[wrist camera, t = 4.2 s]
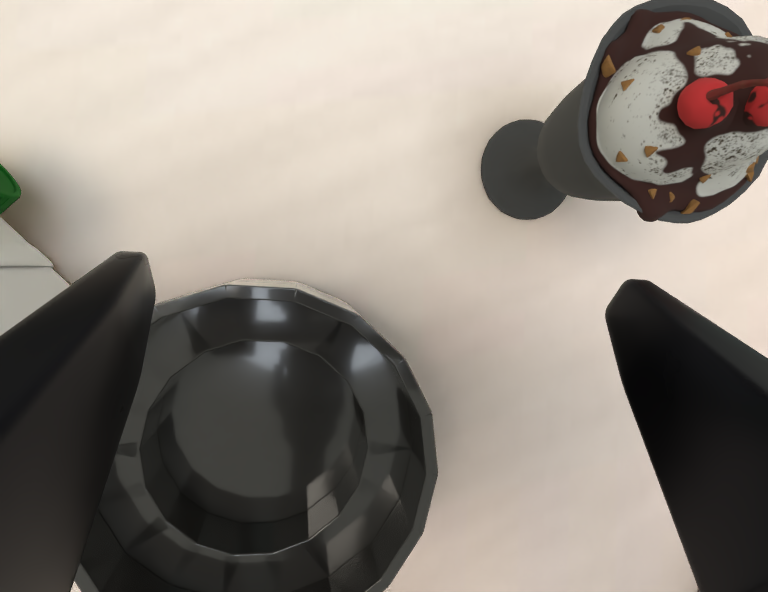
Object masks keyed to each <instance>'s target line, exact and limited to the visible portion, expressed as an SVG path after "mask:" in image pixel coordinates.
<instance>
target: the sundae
mask: <svg viewBox="0 0 768 592" xmlns="http://www.w3.org/2000/svg"><path fill="white" fill-rule="evenodd" d="M767 160H768V38H765V37H761V36H753V35H752V34H751V32H750V30H749V29H748V27H747V26H746V24H745V22H744V21H743V19H742V18H741V17H739V16H738V15H737V14H735V13H734V12H733V11H732V10H730V9H729V8H728V7H726V6H724V5H722V4H720V3H718V2H716V1H714V0H650V1H648V2H645V3H642V4H640V5H637V6H635V7H633V8H631V9H630V10H628V11H626V12H625V13H623V14H622V15H621V16H620V17H619V18H618V19H617V21H616V22H615V23H614V24H613V25H612V26H611V28H610V29H609V30H608V32H607V33H606V34H605V36H604V37H603V38H602V40H601V42H600V44H599V47H598V49H597V51H596V53H595V55H594V58H593V60H592V62H591V65H590V68H589V71H588V73H587V76H586V79H584V80H583V81H582V82H581V83H580V84H579V85H578V86H577V87H576V88H574V89H573V90H572V91H571V92H570V93H569V94H568V95H567V96H566V97H565V98H564V99H563V100H562V101H561V102H560V104H559V105H558V106H557V107H556V108H555V110H554V111H553V112H552V113H551V115H550V116H549V117H548V118H547V120H546V121H545V123H542V122H540V121H536V120H518V121H515V122H512V123H509V124H507V125H505V126H503V127H502V128H501V129H500V130H498V131H497V132H496V133H495V134H494V135H493V137H492V138H491V139H490V140H489V142H488V144H487V146H486V148H485V151H484V154H483V157H482V164H481V176H482V181H483V185H484V188H485V190H486V193H487V195H488V197H489V198H490V200H491V201H492V202H493V203H494V205H495V206H496V207H497V208H499V209H500V210H501V211H502V212H504V213H506V214H507V215H509V216H512V217H514V218H517V219H526V220H527V219H537V218H540V217H543V216H545V215H547V214H549V213H551V212H553V211H554V210H555V209H556V208H557V207H558V206H559V205H560V204H561V203H562V201H563V200H564V199H565V197H566V195H569V196H572V197H577V198H583V199H589V200H597V201H622V202H623V203H625V204H627V205H629V206H630V207H632V208H634V209H636V210H637V213H638V215H639V217H640V218H642V219H643V220H644V221H647V222H653V221H656V220H659V221H665V222H671V223H691V222H695V221H698V220H702V219H704V218H706V217H708V216H710V215H713V214H715V213H716V212H718V211H720V210H721V209H723V208H725V207H726V206H728V205H730V204H731V203H732V202H733V201H734V200H736V199H737V198H738V197H739V196H740V195H741V194H743V193H744V192H745V191H746V190H747V189H748V187H749V186H750V185H751V184H752V183H753V182H754V181H755V180H756V179H757V178H758V177H759V175H760V173H761V171H762V169H763V167H764V166H765V164H766V162H767Z"/></svg>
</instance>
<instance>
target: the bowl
mask: <svg viewBox="0 0 768 592" xmlns="http://www.w3.org/2000/svg"><path fill="white" fill-rule="evenodd" d="M437 476H438V467H437V457H436V447H435V437H434V427H433V417H432V413H431V410H430V408H429V406H428V403H427V401H426V399H425V397H424V395H423V393H422V391H421V389H420V387H419V385H418V383H417V381H416V379H415V377H414V375H413V373H412V371H411V369H410V367H409V365H408V363H407V361H406V359H405V358H404V356H403V355H402V354H401V353H400V352H399V351H397V350H396V349H395V348H394V347H393V346H392V345H391V344H390V343H389V342H388V341H387V340H386V339H385V338H384V337H383V336H382V335H381V334H380V333H379V332H378V331H377V330H376V329H374V328H373V327H372V326H371V325H370V324H369V323H368V322H367V321H366V320H365V319H364V318H363V317H362V316H361V315H360V314H358V313H357V312H356V311H355V310H354V309H353V308H352V307H351V306H350V305H349V304H348V303H346V302H345V301H343V300H340V299H338V298H335V297H333V296H331V295H328V294H326V293H324V292H321V291H319V290H316V289H314V288H312V287H309V286H307V285H305V284H302V283H300V282H296V281H282V280H265V279H247V278H243V279H238V280H234V281H231V282H227V283H224V284H220V285H217V286H213V287H210V288H206V289H203V290H200V291H196V292H193V293H189V294H186V295H183V296H180V297H177V298H174V299H171V300H168V301H165V302H162V303H159V304H156V305H154V309H153V315H152V320H151V325H150V330H149V336H148V341H147V346H146V352H145V357H144V362H143V367H142V372H141V377H140V380H139V384H138V387H137V390H136V394H135V397H134V400H133V403H132V406H131V409H130V412H129V415H128V418H127V421H126V424H125V427H124V430H123V433H122V436H121V439H120V442H119V445H118V448H117V451H116V454H115V457H114V460H113V463H112V466H111V470H110V473H109V476H108V479H107V482H106V485H105V488H104V491H103V494H102V497H101V500H100V503H99V506H98V509H97V512H96V515H95V518H94V521H93V524H92V527H91V530H90V533H89V536H88V539H87V542H86V545H85V549H84V552H83V555H82V558H81V561H80V564H79V567H78V570H77V573H76V576H75V579H74V581H75V583H76V584H77V586H78V587H79V589H80V590H81V592H383V591H384V590H385V589H386V588H388V585H390V584H391V582H392V581H393V579H394V578H395V576H396V575H397V573H398V571H399V570H400V568H401V567H402V565H403V564H404V562H405V561H406V559H407V557H408V556H409V554H410V553H411V551H412V550H413V548H414V547H415V545H416V543H417V542H418V540H419V539H420V537H421V536H422V534H423V532H424V528H425V524H426V520H427V516H428V512H429V508H430V504H431V500H432V496H433V492H434V488H435V484H436V480H437Z"/></svg>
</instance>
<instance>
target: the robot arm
mask: <svg viewBox="0 0 768 592" xmlns="http://www.w3.org/2000/svg"><path fill="white" fill-rule="evenodd" d="M154 304H155V286H154V282H153V277H152V273H151V269H150V265H149V261H148V258H147V256H146V255H145V254H144V253H142V252H128V251H120V252H117V253H115V254H114V255H112V256H111V257H109V258H108V259H107V260H105V261H104V262H103V263H101V264H100V265H98V266H97V267H96V268H94V269H93V270H91V271H90V272H89V273H87V274H86V275H84V276H83V277H82V278H80V279H79V280H77V281H76V282H75V283H73V284H72V285H70V286H69V287H68V288H66V289H65V290H63V291H62V292H61V293H59V294H58V295H56V296H55V297H54V298H52V299H51V300H49V301H48V302H47V303H45V304H44V305H42V306H41V307H40V308H38V309H37V310H35V311H34V312H33V313H31V314H30V315H28V316H27V317H26V318H24V319H23V320H22V321H20V322H19V323H17V324H16V325H15V326H13V327H12V328H10V329H9V330H8V331H6V332H5V333H3V334H2V335H1V336H0V592H70V591H71V588H72V585H73V582H74V579H75V576H76V573H77V570H78V567H79V564H80V561H81V558H82V555H83V552H84V549H85V545H86V542H87V539H88V536H89V533H90V530H91V527H92V524H93V521H94V518H95V515H96V512H97V509H98V506H99V503H100V500H101V497H102V494H103V491H104V488H105V485H106V482H107V479H108V476H109V473H110V470H111V466H112V463H113V460H114V457H115V454H116V451H117V448H118V445H119V442H120V439H121V436H122V433H123V430H124V427H125V424H126V421H127V418H128V415H129V412H130V409H131V406H132V403H133V400H134V397H135V394H136V390H137V387H138V384H139V380H140V377H141V372H142V367H143V362H144V357H145V352H146V346H147V341H148V336H149V330H150V325H151V320H152V315H153V309H154ZM605 319H606V323H607V327H608V331H609V335H610V339H611V342H612V346H613V350H614V354H615V358H616V362H617V366H618V370H619V374H620V377H621V381H622V384H623V387H624V390H625V393H626V396H627V398H628V401H629V404H630V406H631V409H632V412H633V414H634V417H635V420H636V422H637V425H638V428H639V430H640V433H641V436H642V438H643V441H644V444H645V446H646V449H647V452H648V454H649V457H650V460H651V462H652V465H653V468H654V470H655V473H656V476H657V478H658V481H659V484H660V486H661V489H662V492H663V494H664V497H665V500H666V502H667V505H668V508H669V511H670V513H671V516H672V519H673V521H674V524H675V527H676V529H677V532H678V535H679V537H680V540H681V543H682V545H683V548H684V551H685V553H686V556H687V559H688V561H689V564H690V567H691V569H692V572H693V575H694V577H695V580H696V583H697V585H698V588H699V591H700V592H768V358H766V357H765V356H763V355H762V354H760V353H759V352H757V351H756V350H754V349H753V348H751V347H749V346H748V345H746V344H745V343H743V342H742V341H740V340H739V339H737V338H736V337H734V336H733V335H731V334H730V333H728V332H727V331H725V330H724V329H722V328H720V327H719V326H717V325H716V324H714V323H713V322H711V321H710V320H708V319H707V318H705V317H704V316H702V315H701V314H699V313H698V312H696V311H695V310H693V309H691V308H690V307H688V306H687V305H685V304H684V303H682V302H681V301H679V300H678V299H676V298H675V297H673V296H672V295H670V294H669V293H667V292H666V291H664V290H662V289H661V288H659V287H658V286H656V285H655V284H653V283H652V282H650V281H647V280H637V279H630V280H627V281H625V282H624V283H623V284H622V285H621V287H620V288H619V290H618V291H617V293H616V294H615V296H614V297H613V299H612V300H611V302H610V303H609V305H608V306H607V309H606V313H605Z"/></svg>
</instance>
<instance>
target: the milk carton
mask: <svg viewBox="0 0 768 592" xmlns="http://www.w3.org/2000/svg"><path fill="white" fill-rule="evenodd" d="M20 195H21V190H20V187H19V185H18V184H17V182H16V181H15V179H14V178H13V177H12V176H11V174H10V173H9V172H8V171H7V170H6V169H5V168H4V167H3V166H2V165H1V164H0V214H2V213H3V212H4V211H5V210H6V209H7V208H8V207H9V206H11V205H12V204H13V203H14V202H15V201H16V200H17V199H18V198H20ZM53 267H54V265H53V264H52V262H51V261H50V260H49V259H48V258H47V257H46V256H44V255H43V254H42V253H41V252H40V251H39V250H38V249H37V248H35V247H34V246H32V245H30V244H29V243H28V242H27V241H26V240H25V239H24V238H23V237H22V236H20V235H19V234H18V233H17V232H16V231H15V230H14V229H13V228H12V227H11V226H10V225H9V224H8V223H6V222H5V221H4V220H3V219H2V218H1V217H0V336H1V335H2V334H3V333H5V332H6V331H8V330H9V329H10V328H12V327H13V326H15V325H16V324H17V323H19V322H20V321H22V320H23V319H24V318H26V317H27V316H28V315H30V314H31V313H33V312H34V311H35V310H37V309H38V308H40V307H41V306H42V305H44V304H45V303H47V302H48V301H49V300H51V299H52V298H54V297H55V296H56V295H58V294H59V293H61V292H62V291H63V290H65V289H66V288H68V287H69V286H70V285H69V284H68V283H67V282H66V281H65V280H64V279H63V278H62V277H61V276H60V275H59V274H57V273H56V272H55V271H54V270H53V269H52V268H53Z"/></svg>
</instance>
